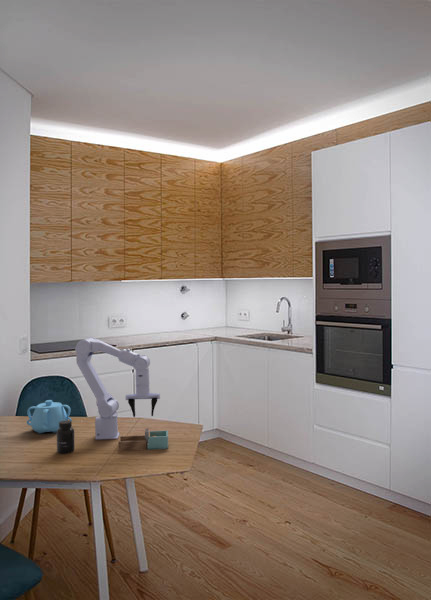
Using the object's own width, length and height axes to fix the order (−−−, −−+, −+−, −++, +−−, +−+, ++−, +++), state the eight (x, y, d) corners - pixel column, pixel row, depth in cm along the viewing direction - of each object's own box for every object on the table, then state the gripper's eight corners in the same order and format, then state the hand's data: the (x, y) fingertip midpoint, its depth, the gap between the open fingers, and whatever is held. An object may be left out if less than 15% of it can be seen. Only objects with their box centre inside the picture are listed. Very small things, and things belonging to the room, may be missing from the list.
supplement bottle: (58, 455, 202) (57, 425, 202) (55, 450, 208) (54, 421, 208) (76, 452, 205) (75, 422, 205) (72, 447, 211) (71, 418, 211)
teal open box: (147, 449, 207) (147, 437, 207) (148, 443, 215) (148, 431, 215) (167, 448, 208) (167, 436, 208) (168, 442, 216) (167, 430, 216)
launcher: (118, 450, 206) (118, 442, 206) (120, 444, 214) (120, 435, 214) (146, 449, 207) (146, 441, 207) (147, 443, 215) (147, 434, 215)
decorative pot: (40, 438, 225) (39, 407, 224) (24, 430, 236) (23, 400, 236) (74, 429, 236) (73, 400, 235) (57, 422, 248) (56, 394, 247)
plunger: (145, 443, 209) (144, 432, 208) (145, 439, 213) (145, 428, 213) (148, 443, 209) (147, 432, 208) (148, 439, 214) (148, 428, 213)
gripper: (124, 387, 217) (125, 419, 218) (159, 385, 218) (160, 417, 219) (126, 383, 224) (126, 414, 225) (159, 382, 225) (160, 413, 226)
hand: (143, 415), depth 222 cm, fingers open, 7 cm apart
